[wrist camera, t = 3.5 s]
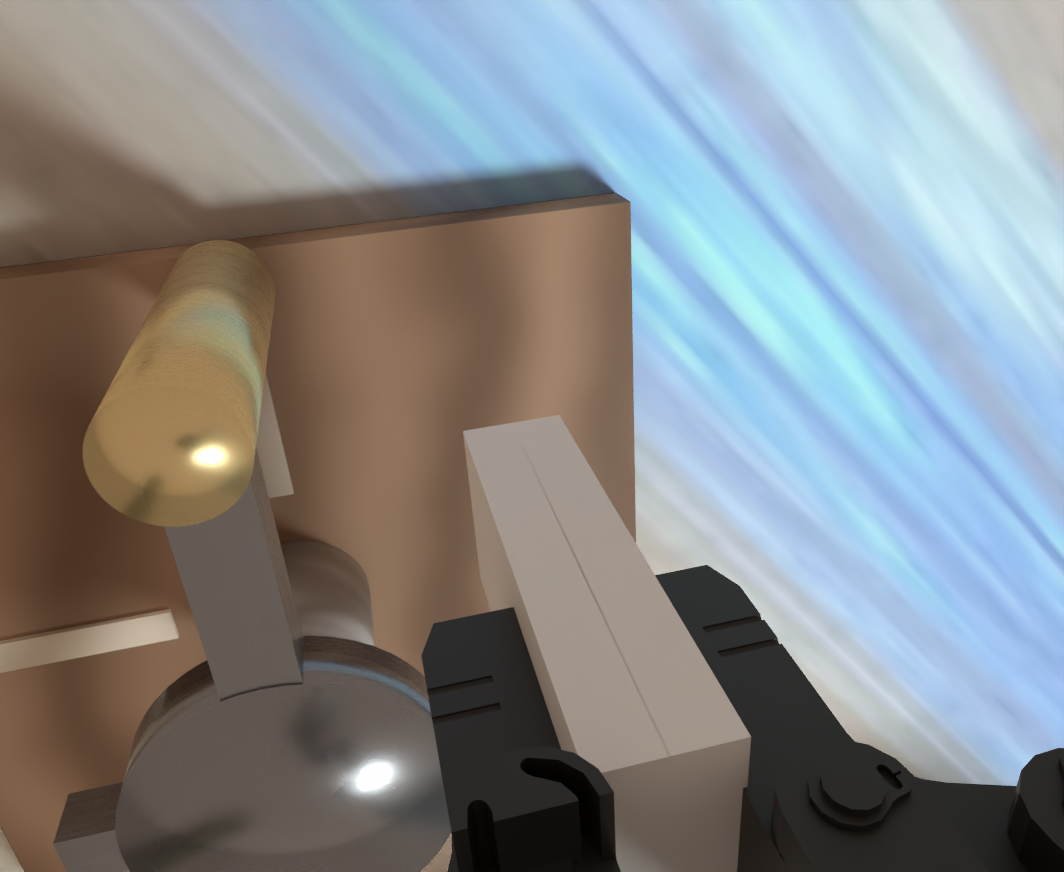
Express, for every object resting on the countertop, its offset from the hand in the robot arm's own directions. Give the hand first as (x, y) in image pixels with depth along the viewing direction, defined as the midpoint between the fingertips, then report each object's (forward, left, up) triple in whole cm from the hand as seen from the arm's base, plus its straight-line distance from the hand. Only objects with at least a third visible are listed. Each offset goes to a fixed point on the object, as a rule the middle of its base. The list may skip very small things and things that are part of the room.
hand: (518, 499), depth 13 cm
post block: (+6, +12, -17) cm, 22 cm away
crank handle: (+7, +8, -15) cm, 18 cm away
